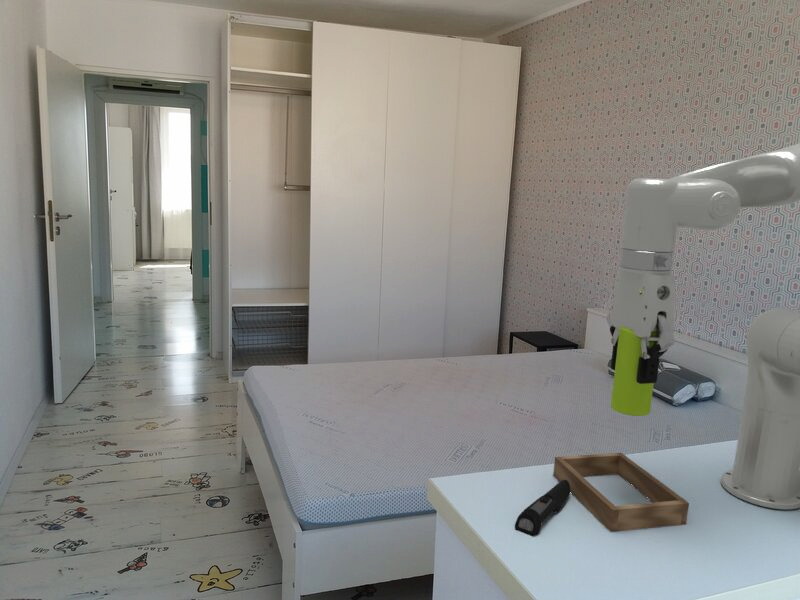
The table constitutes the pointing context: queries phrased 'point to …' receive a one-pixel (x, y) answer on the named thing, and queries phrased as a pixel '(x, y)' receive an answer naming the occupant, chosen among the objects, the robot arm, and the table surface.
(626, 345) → the soap dispenser
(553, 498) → the electric trimmer
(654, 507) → the frame
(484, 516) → the table surface
